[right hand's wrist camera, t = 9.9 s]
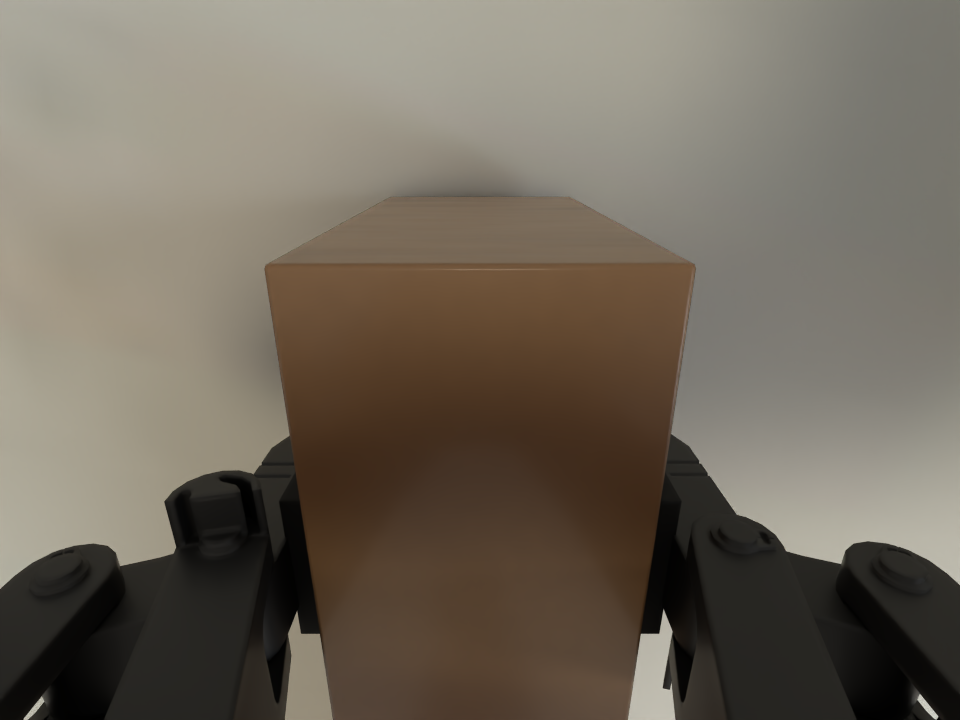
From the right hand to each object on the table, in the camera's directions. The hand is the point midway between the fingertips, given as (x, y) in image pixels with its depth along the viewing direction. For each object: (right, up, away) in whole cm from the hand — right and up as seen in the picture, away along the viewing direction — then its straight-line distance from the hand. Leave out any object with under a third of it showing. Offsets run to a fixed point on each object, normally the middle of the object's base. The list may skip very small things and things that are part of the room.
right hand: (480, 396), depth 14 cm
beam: (0, -19, +8) cm, 21 cm away
